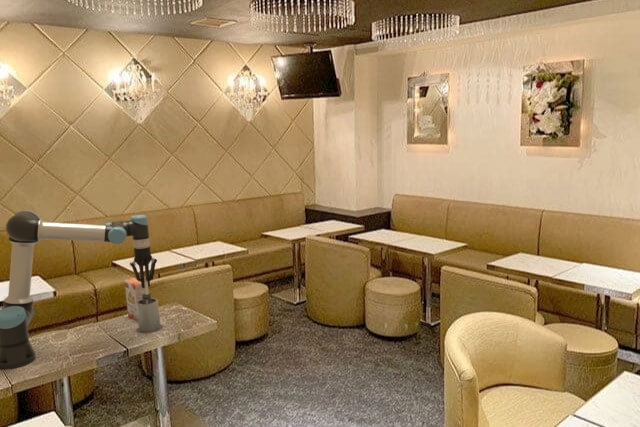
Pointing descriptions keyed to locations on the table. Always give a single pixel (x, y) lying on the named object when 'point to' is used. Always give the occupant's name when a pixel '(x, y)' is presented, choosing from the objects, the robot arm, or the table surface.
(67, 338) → the table surface
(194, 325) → the table surface
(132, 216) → the robot arm
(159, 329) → the coaster
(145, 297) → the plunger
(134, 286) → the cracker box
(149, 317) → the grey hexagonal cup
